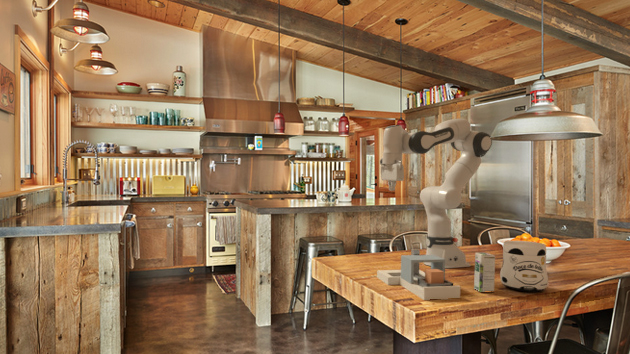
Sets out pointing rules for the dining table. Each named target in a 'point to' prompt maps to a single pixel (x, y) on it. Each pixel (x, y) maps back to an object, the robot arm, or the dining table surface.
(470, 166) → the robot arm
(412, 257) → the tunnel
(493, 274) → the syrup box
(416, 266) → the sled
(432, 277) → the block
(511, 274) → the milk container
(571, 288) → the dining table surface
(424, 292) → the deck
